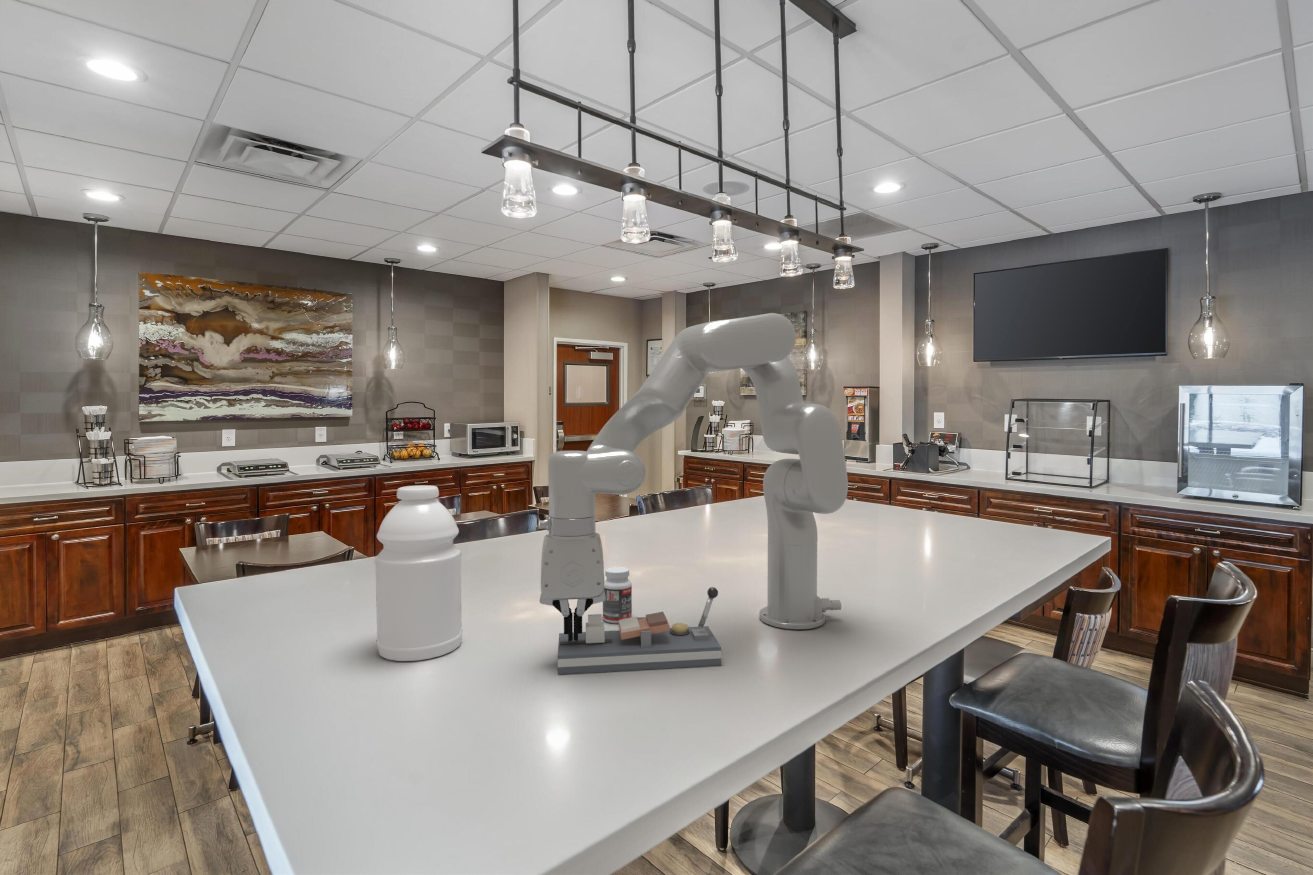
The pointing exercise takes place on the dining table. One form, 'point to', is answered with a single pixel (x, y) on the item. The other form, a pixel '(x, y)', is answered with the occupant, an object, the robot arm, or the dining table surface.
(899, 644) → the dining table surface
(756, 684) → the dining table surface
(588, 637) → the slider
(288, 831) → the dining table surface
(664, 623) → the rocker
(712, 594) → the lever
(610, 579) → the pill bottle
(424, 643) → the bottle
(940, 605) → the dining table surface
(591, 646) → the console
